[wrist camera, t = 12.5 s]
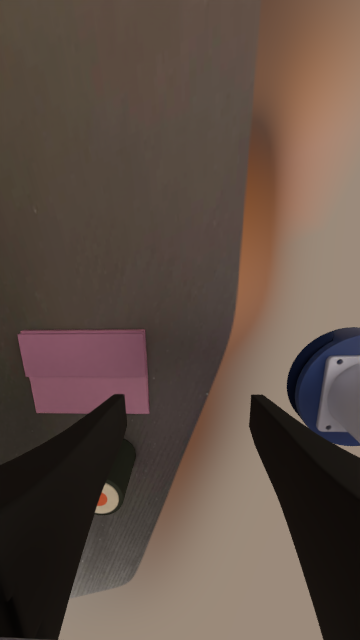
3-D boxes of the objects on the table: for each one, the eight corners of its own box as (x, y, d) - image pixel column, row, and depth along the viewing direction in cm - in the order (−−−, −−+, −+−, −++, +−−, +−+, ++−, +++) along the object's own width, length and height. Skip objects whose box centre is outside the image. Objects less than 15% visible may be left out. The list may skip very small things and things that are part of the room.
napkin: (145, 329, 19) (143, 331, 18) (149, 410, 21) (148, 416, 20) (24, 329, 19) (16, 332, 18) (39, 410, 21) (33, 415, 20)
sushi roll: (134, 437, 21) (120, 480, 17) (137, 469, 22) (124, 518, 18) (95, 436, 22) (70, 479, 17) (99, 468, 23) (77, 517, 18)
